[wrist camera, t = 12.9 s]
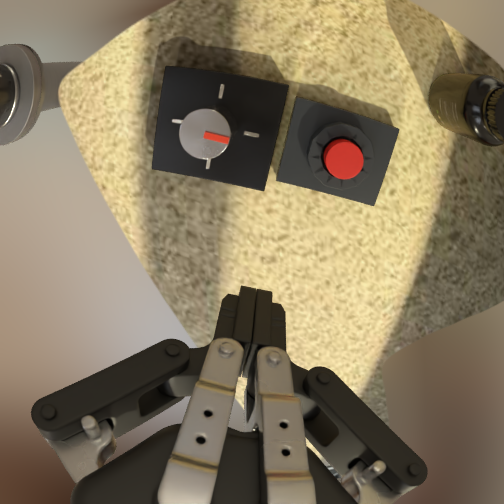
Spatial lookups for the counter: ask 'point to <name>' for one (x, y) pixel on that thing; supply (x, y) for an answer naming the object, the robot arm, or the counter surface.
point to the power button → (343, 159)
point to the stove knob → (208, 131)
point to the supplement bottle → (470, 106)
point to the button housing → (320, 136)
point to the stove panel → (243, 108)
